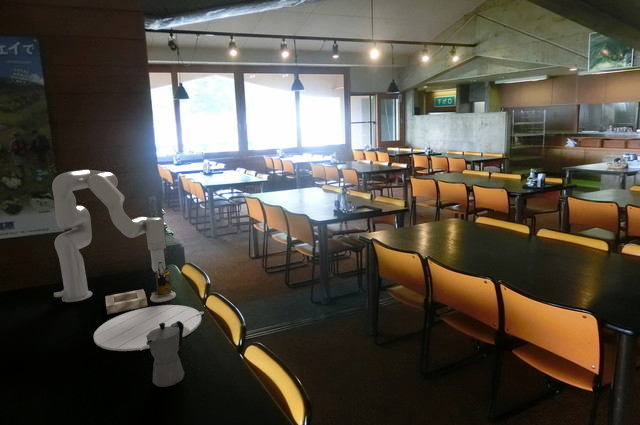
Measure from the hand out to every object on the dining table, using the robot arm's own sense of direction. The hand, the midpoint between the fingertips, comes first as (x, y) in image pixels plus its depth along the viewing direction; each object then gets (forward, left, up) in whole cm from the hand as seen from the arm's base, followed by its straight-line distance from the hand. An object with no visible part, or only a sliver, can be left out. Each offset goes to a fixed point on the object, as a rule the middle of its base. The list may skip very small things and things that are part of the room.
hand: (161, 283), depth 206 cm
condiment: (0, 0, -5) cm, 5 cm away
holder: (-15, 0, -7) cm, 17 cm away
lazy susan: (-9, -31, -7) cm, 33 cm away
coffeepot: (-7, -74, -7) cm, 75 cm away
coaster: (0, 0, -7) cm, 7 cm away
